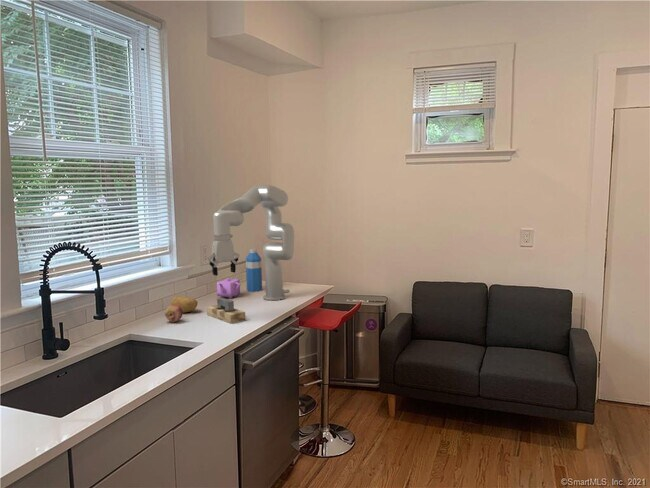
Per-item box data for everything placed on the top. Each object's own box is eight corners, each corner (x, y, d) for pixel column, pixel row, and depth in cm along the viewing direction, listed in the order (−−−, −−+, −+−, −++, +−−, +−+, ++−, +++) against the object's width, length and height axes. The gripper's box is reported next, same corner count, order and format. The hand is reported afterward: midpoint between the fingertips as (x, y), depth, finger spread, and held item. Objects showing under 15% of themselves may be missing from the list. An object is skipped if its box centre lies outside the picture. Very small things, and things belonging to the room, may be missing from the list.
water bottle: (261, 291, 296) (259, 250, 293) (245, 291, 296) (244, 250, 293) (263, 288, 305) (261, 248, 302) (248, 288, 305) (246, 248, 303)
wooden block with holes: (221, 311, 249) (220, 304, 249) (245, 320, 233) (245, 311, 233) (207, 314, 244) (206, 307, 243) (230, 323, 228) (230, 315, 227)
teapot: (243, 298, 278) (242, 279, 277) (219, 301, 274) (218, 281, 272) (238, 293, 292) (237, 275, 291) (215, 295, 288) (214, 277, 287)
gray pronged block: (217, 314, 241) (217, 298, 240) (223, 313, 243) (222, 297, 242) (228, 318, 234) (228, 302, 233) (234, 317, 236) (233, 301, 235)
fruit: (162, 322, 232) (161, 305, 231) (177, 318, 238) (176, 302, 237) (171, 325, 227) (170, 307, 226) (186, 321, 233) (185, 304, 232)
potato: (190, 315, 243) (190, 299, 242) (167, 313, 248) (166, 297, 247) (202, 311, 252) (201, 295, 251) (180, 308, 257) (179, 293, 256)
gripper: (234, 235, 242) (235, 270, 245) (202, 239, 231) (204, 275, 233) (242, 236, 237) (244, 272, 239) (210, 240, 225) (212, 277, 228)
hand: (224, 273), depth 236 cm, fingers open, 9 cm apart
